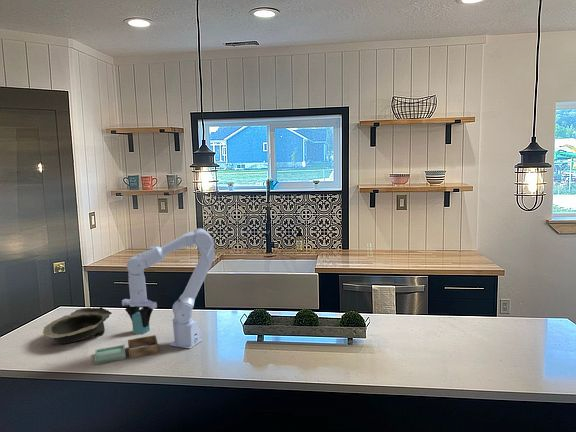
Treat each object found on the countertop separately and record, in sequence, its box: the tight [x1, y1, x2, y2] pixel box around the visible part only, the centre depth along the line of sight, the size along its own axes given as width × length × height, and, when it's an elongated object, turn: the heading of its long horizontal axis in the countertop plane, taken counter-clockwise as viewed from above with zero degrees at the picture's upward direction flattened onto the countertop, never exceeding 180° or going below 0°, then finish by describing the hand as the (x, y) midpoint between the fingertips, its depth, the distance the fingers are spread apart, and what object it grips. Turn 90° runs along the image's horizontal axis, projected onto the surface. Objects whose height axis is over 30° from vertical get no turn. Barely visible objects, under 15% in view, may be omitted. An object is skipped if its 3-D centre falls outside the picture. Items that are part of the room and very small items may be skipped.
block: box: [131, 312, 151, 335], centre depth 163 cm, size 4×4×7 cm
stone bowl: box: [42, 306, 113, 345], centre depth 179 cm, size 25×25×9 cm
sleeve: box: [127, 334, 160, 359], centre depth 164 cm, size 10×10×3 cm
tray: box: [94, 344, 127, 366], centre depth 160 cm, size 10×10×2 cm
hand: (141, 325), depth 163 cm, fingers closed on block, 4 cm apart
